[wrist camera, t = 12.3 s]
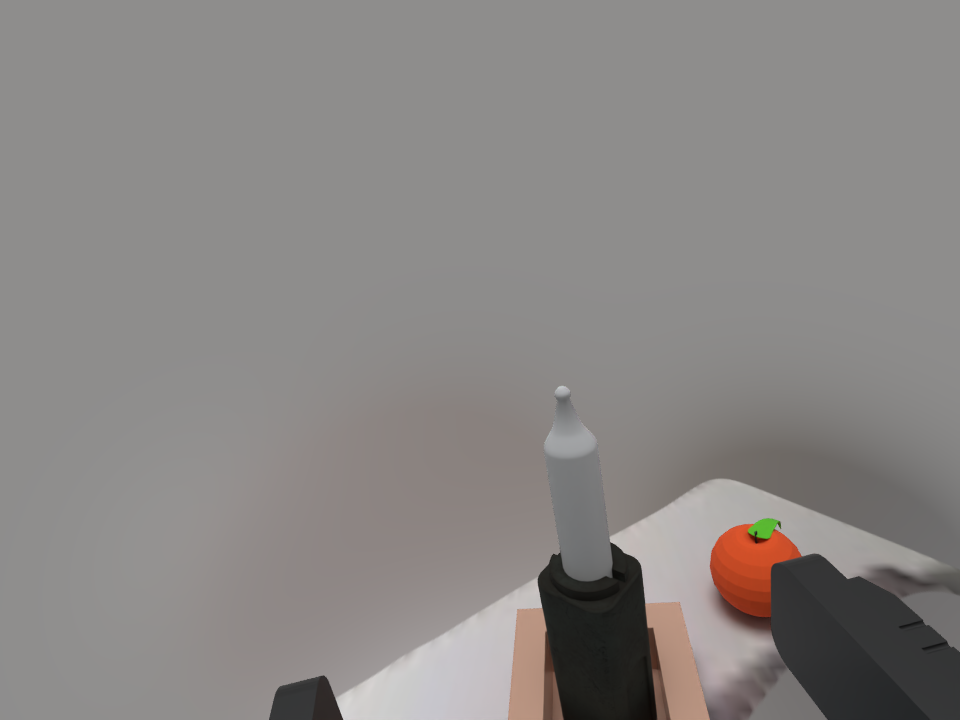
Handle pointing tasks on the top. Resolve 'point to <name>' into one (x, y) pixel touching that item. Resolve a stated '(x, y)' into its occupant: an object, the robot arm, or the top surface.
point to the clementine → (749, 564)
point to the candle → (591, 588)
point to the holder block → (671, 658)
